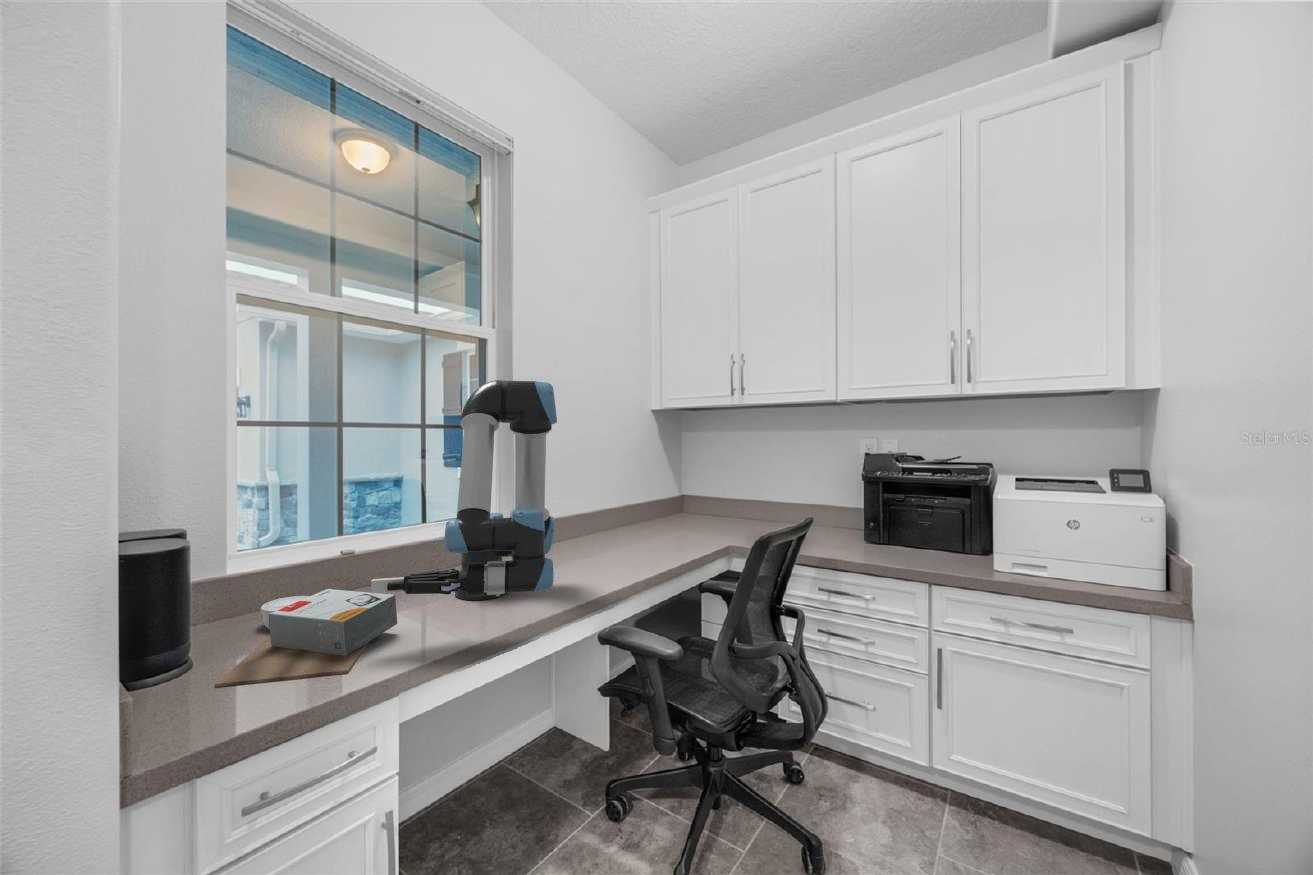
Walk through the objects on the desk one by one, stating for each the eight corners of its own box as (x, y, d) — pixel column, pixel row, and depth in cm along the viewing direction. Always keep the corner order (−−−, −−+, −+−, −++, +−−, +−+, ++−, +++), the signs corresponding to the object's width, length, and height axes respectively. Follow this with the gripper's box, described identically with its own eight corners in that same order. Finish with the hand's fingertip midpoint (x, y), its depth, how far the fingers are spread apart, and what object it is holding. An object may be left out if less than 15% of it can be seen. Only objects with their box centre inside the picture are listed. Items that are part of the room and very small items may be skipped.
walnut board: (377, 629, 125) (377, 626, 125) (348, 673, 102) (348, 670, 102) (271, 638, 119) (271, 635, 119) (214, 687, 96) (214, 684, 96)
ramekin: (270, 635, 121) (270, 613, 121) (252, 625, 127) (253, 604, 127) (323, 622, 130) (323, 601, 130) (304, 613, 136) (304, 593, 136)
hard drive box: (343, 621, 107) (266, 614, 112) (346, 656, 108) (269, 648, 113) (396, 593, 123) (326, 588, 127) (398, 624, 123) (329, 618, 128)
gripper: (484, 603, 114) (364, 613, 107) (485, 586, 126) (378, 594, 119) (484, 569, 114) (364, 576, 107) (486, 556, 126) (378, 562, 119)
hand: (371, 586), depth 113 cm, fingers closed
